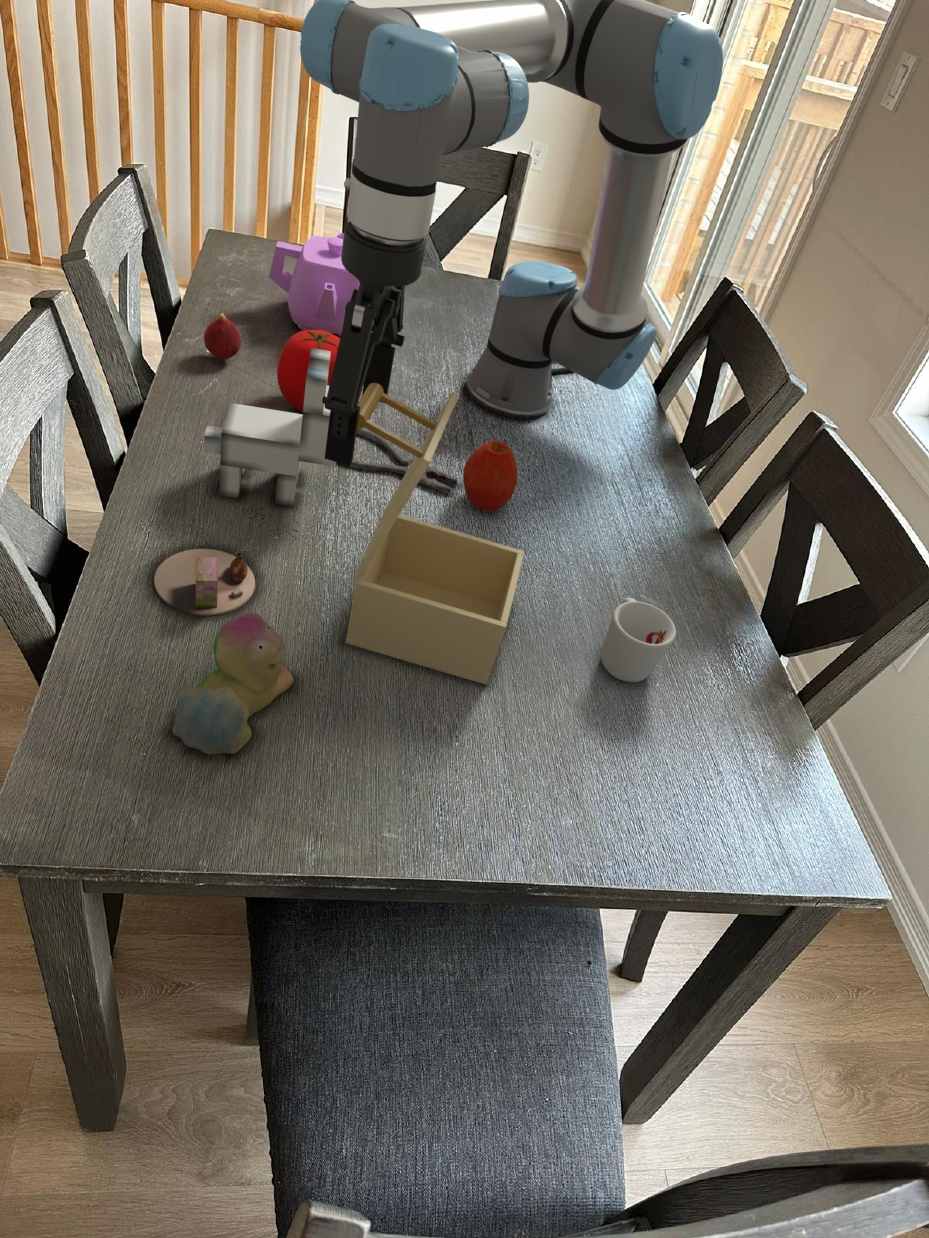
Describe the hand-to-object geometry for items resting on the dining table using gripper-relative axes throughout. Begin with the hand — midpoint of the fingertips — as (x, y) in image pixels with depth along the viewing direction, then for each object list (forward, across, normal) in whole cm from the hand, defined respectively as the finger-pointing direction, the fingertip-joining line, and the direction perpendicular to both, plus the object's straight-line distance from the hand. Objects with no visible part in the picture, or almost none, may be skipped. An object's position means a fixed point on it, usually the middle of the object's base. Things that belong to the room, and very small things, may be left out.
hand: (357, 428), depth 95 cm
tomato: (+25, -41, -16) cm, 51 cm away
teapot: (+25, -70, -23) cm, 78 cm away
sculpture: (+25, +22, -4) cm, 33 cm away
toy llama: (+25, -18, -15) cm, 34 cm away
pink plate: (+25, +4, -15) cm, 29 cm away
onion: (+25, -47, -34) cm, 63 cm away
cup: (+25, -4, +38) cm, 45 cm away
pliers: (+25, -33, 0) cm, 41 cm away
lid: (+6, 0, +7) cm, 9 cm away
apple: (+25, -29, +14) cm, 41 cm away
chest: (+25, 0, +13) cm, 28 cm away
